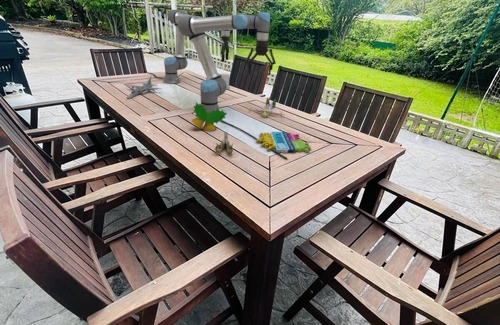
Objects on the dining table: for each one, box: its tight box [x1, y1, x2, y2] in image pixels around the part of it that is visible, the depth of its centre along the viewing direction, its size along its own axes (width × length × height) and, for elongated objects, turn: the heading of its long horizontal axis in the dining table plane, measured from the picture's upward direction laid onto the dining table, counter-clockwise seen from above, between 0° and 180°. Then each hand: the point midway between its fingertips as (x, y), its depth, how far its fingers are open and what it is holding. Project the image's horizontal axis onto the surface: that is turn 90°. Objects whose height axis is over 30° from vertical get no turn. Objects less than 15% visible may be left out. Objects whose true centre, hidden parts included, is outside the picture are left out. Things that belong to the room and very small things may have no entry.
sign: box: [256, 131, 312, 154], centre depth 152 cm, size 26×2×30 cm
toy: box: [247, 97, 285, 118], centre depth 199 cm, size 28×7×30 cm
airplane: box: [126, 75, 162, 99], centre depth 223 cm, size 38×31×10 cm
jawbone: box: [214, 131, 234, 156], centre depth 136 cm, size 9×15×10 cm
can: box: [220, 73, 230, 90], centre depth 255 cm, size 9×9×13 cm
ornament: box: [191, 102, 228, 132], centre depth 162 cm, size 21×8×15 cm, turn 105°
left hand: (224, 60), depth 246 cm, fingers open, 13 cm apart
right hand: (259, 74), depth 177 cm, fingers open, 13 cm apart
